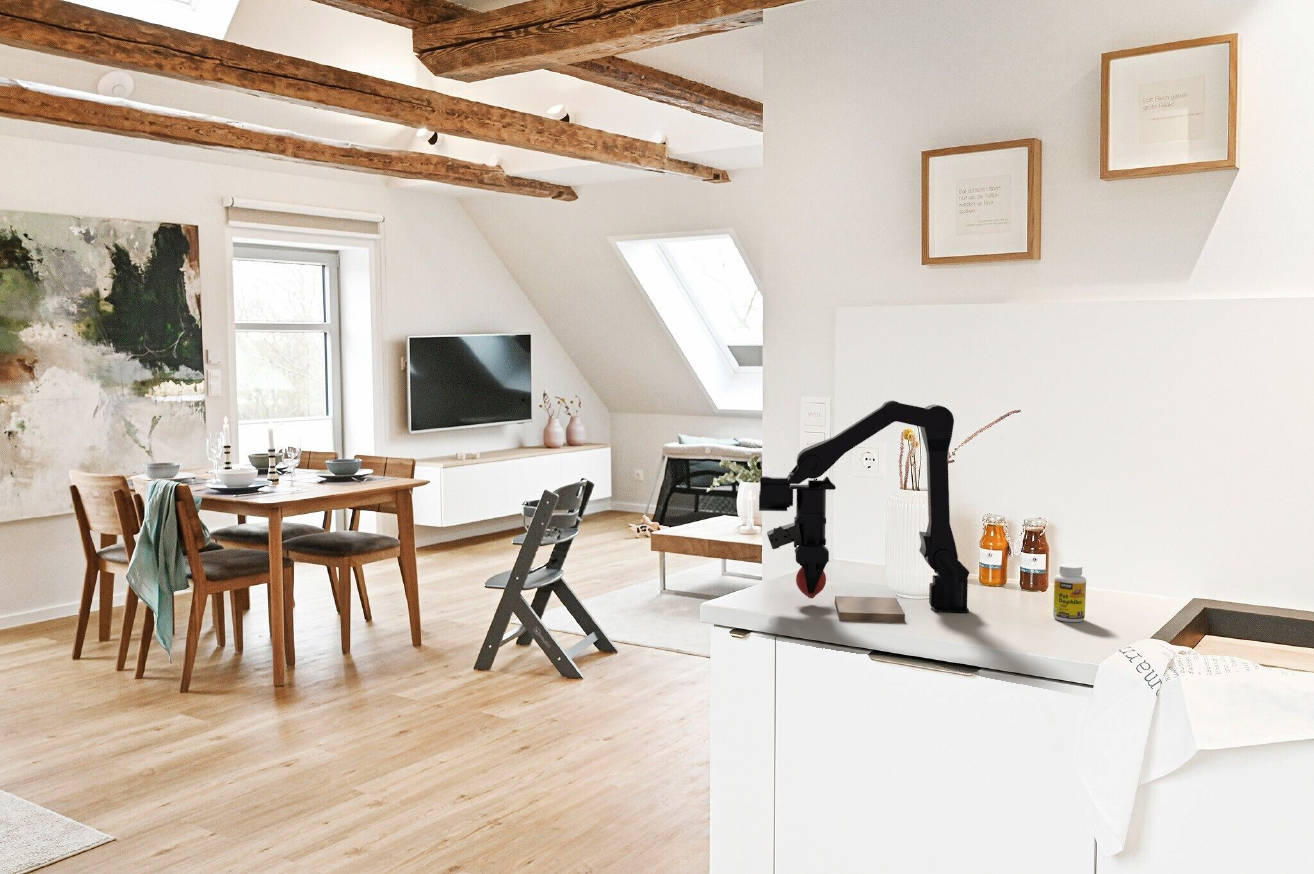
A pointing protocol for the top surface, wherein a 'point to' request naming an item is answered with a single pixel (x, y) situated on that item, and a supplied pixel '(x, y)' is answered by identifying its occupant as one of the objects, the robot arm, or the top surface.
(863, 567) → the top surface
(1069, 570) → the supplement bottle
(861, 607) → the walnut board
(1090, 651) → the top surface
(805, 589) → the onion
